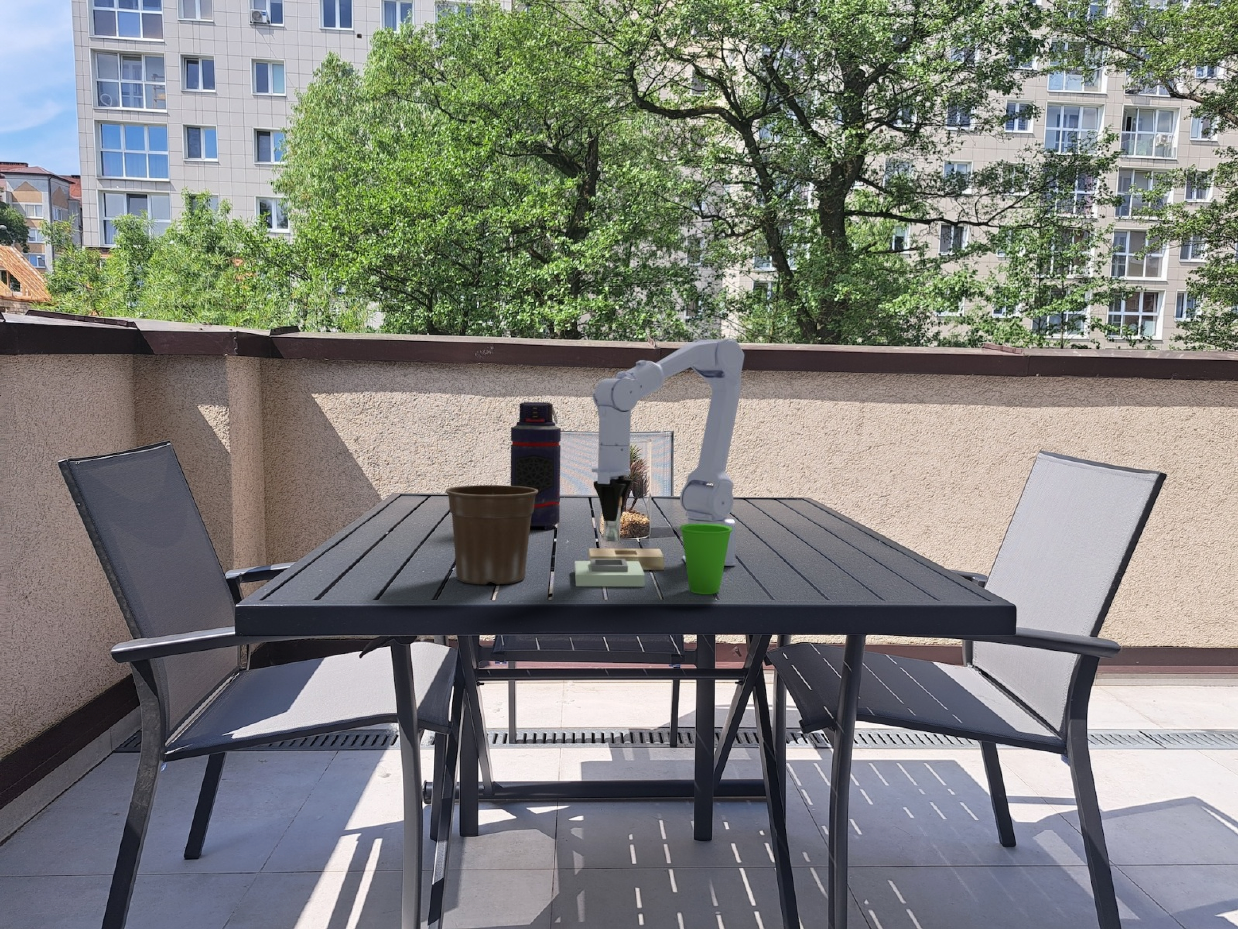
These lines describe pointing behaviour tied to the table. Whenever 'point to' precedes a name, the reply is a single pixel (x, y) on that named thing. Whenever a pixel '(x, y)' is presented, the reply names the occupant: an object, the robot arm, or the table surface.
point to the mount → (631, 556)
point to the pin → (613, 527)
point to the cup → (705, 555)
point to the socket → (609, 573)
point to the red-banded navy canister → (538, 460)
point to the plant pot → (491, 532)
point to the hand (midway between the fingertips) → (612, 519)
